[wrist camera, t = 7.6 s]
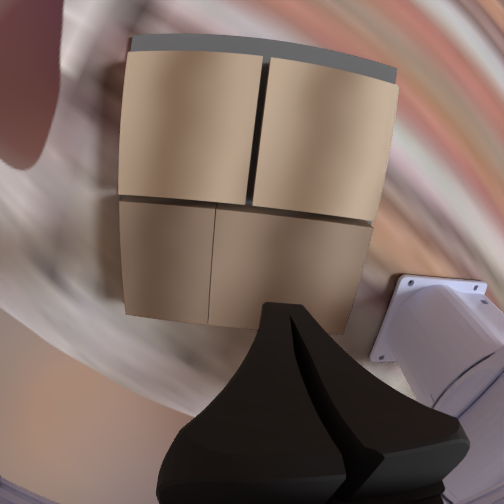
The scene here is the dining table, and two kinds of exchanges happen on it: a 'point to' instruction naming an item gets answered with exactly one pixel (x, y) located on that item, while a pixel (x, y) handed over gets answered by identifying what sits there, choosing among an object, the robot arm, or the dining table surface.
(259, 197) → the plank
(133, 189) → the plank
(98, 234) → the dining table surface
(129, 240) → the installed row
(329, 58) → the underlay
